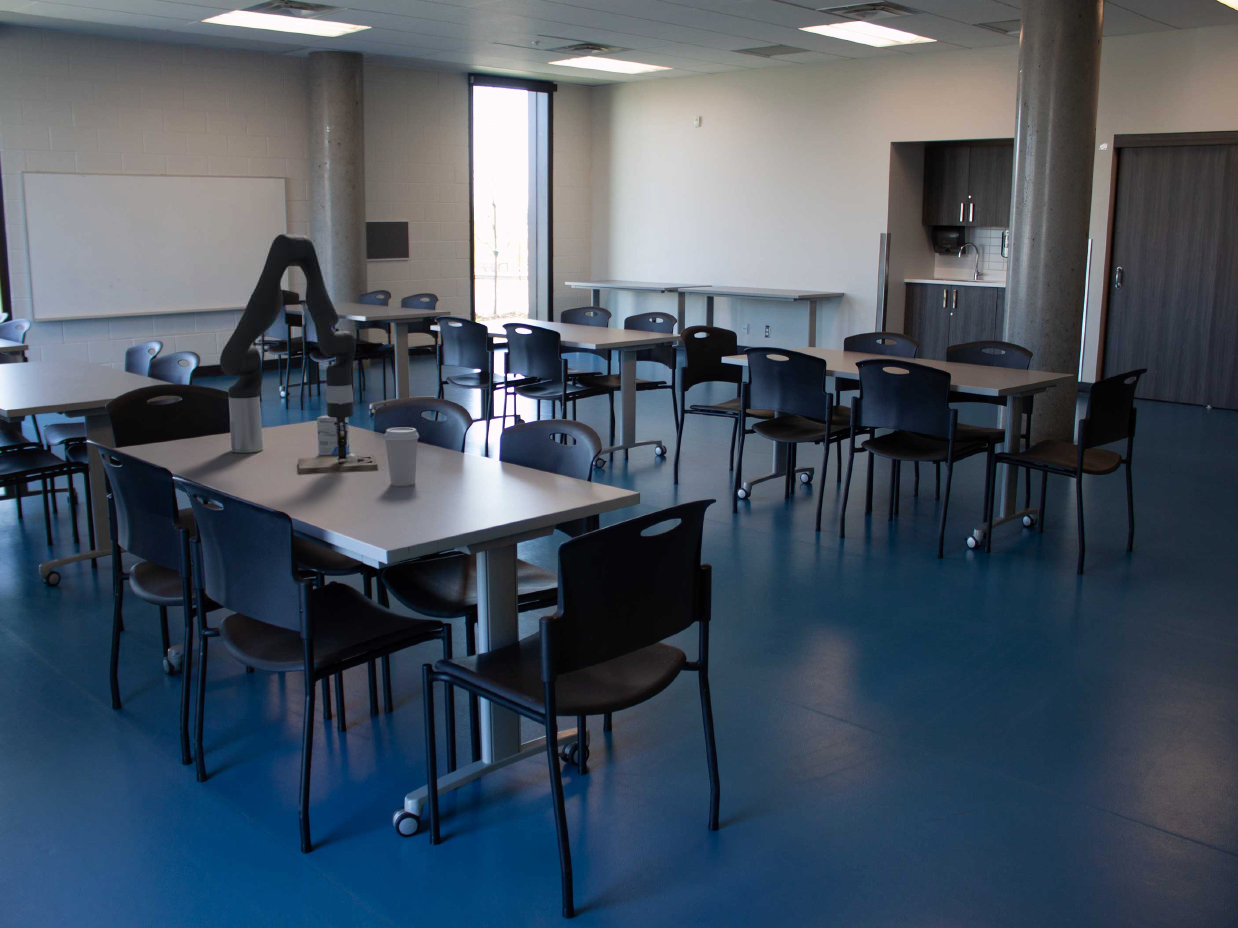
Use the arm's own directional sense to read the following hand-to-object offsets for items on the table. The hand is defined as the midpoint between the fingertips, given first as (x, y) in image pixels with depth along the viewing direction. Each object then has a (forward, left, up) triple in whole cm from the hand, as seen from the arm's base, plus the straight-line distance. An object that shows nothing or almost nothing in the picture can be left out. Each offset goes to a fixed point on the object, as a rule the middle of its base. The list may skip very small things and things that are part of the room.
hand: (342, 458), depth 320 cm
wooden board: (-1, 0, -2) cm, 3 cm away
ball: (+3, 0, -1) cm, 3 cm away
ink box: (-1, +21, -3) cm, 21 cm away
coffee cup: (+15, -28, -2) cm, 32 cm away
